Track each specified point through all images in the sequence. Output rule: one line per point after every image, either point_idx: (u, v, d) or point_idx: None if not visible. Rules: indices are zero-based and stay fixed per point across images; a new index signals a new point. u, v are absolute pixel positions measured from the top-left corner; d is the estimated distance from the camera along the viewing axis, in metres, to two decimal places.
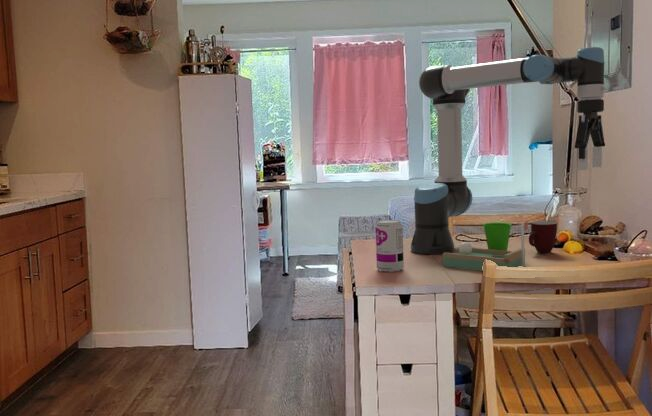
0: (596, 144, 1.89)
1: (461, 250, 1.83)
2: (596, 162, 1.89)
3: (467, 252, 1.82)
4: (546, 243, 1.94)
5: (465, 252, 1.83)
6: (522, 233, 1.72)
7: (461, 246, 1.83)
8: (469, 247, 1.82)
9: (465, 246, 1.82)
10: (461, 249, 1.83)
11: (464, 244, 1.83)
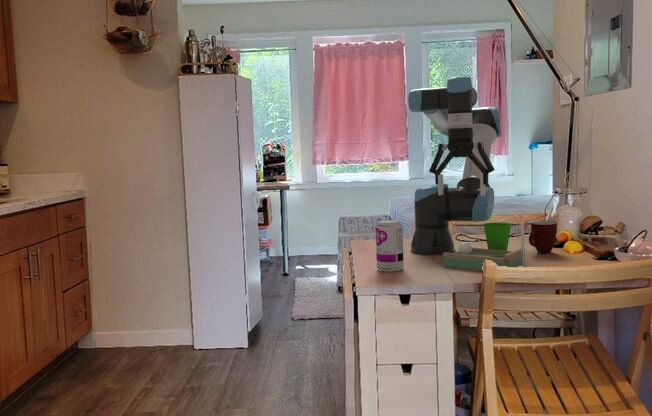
0: None
1: (461, 250, 1.83)
2: None
3: (467, 252, 1.82)
4: (546, 243, 1.94)
5: (465, 252, 1.83)
6: (522, 233, 1.72)
7: (461, 246, 1.83)
8: (469, 247, 1.82)
9: (465, 246, 1.82)
10: (461, 249, 1.83)
11: (464, 244, 1.83)
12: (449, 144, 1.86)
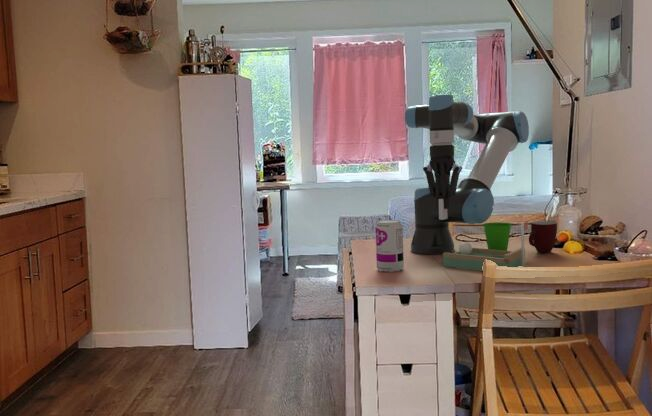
0: None
1: (461, 250, 1.83)
2: None
3: (467, 252, 1.82)
4: (546, 243, 1.94)
5: (465, 252, 1.83)
6: (522, 233, 1.72)
7: (461, 246, 1.83)
8: (469, 247, 1.82)
9: (465, 246, 1.82)
10: (461, 249, 1.83)
11: (464, 244, 1.83)
12: (430, 162, 1.88)
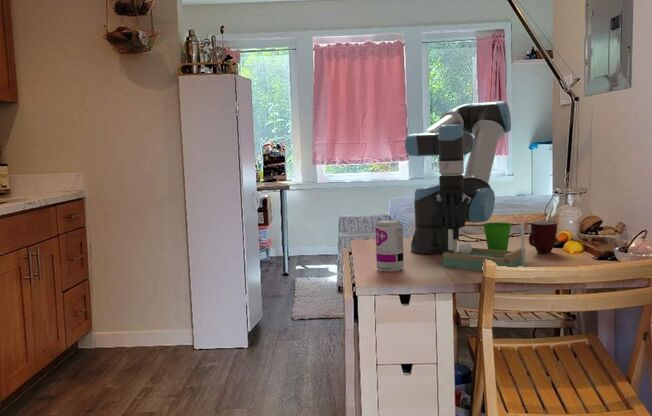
0: None
1: (461, 250, 1.83)
2: None
3: (467, 252, 1.82)
4: (546, 243, 1.94)
5: (465, 252, 1.83)
6: (522, 233, 1.72)
7: (461, 246, 1.83)
8: (469, 247, 1.82)
9: (465, 246, 1.82)
10: (461, 249, 1.83)
11: (464, 244, 1.83)
12: (440, 192, 1.86)
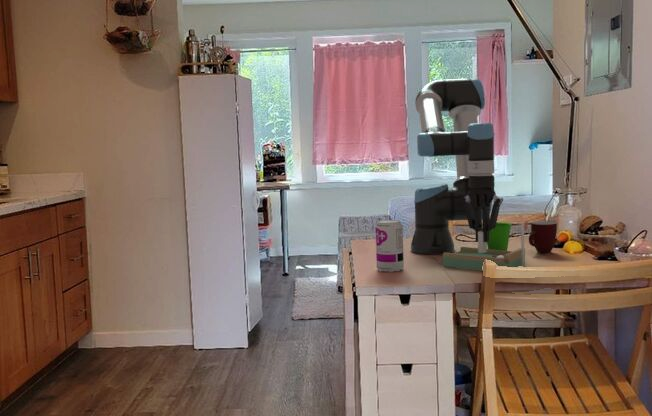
0: None
1: None
2: None
3: None
4: (546, 243, 1.94)
5: None
6: (522, 233, 1.72)
7: None
8: None
9: None
10: None
11: None
12: (469, 192, 1.80)
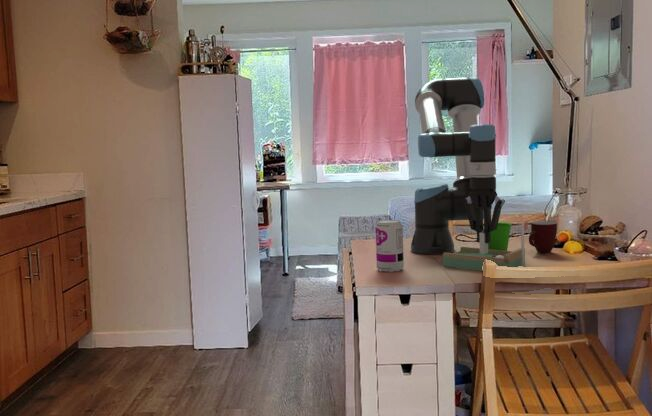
0: None
1: None
2: None
3: None
4: (546, 243, 1.94)
5: None
6: (522, 233, 1.72)
7: None
8: None
9: None
10: None
11: (499, 257, 1.75)
12: (470, 194, 1.80)
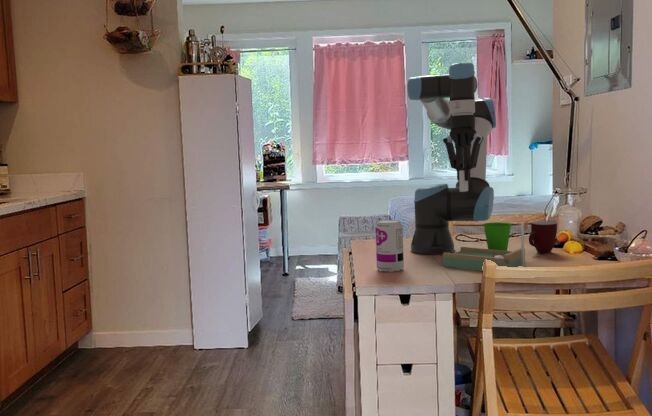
0: None
1: None
2: None
3: None
4: (546, 243, 1.94)
5: None
6: (522, 233, 1.72)
7: None
8: None
9: None
10: None
11: (497, 257, 1.75)
12: (450, 132, 1.84)
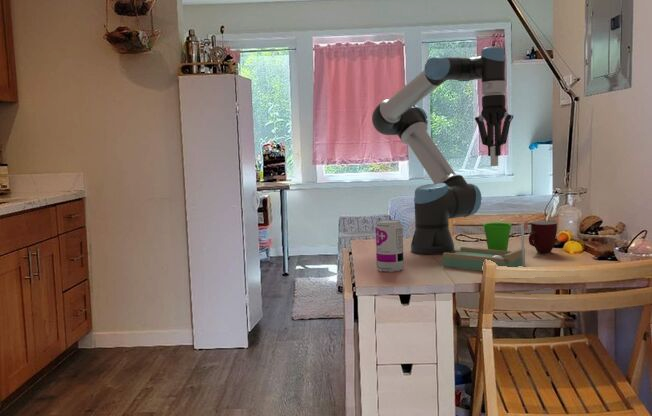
0: None
1: None
2: None
3: None
4: (546, 243, 1.94)
5: None
6: (522, 233, 1.72)
7: None
8: None
9: None
10: None
11: None
12: (482, 112, 1.99)
